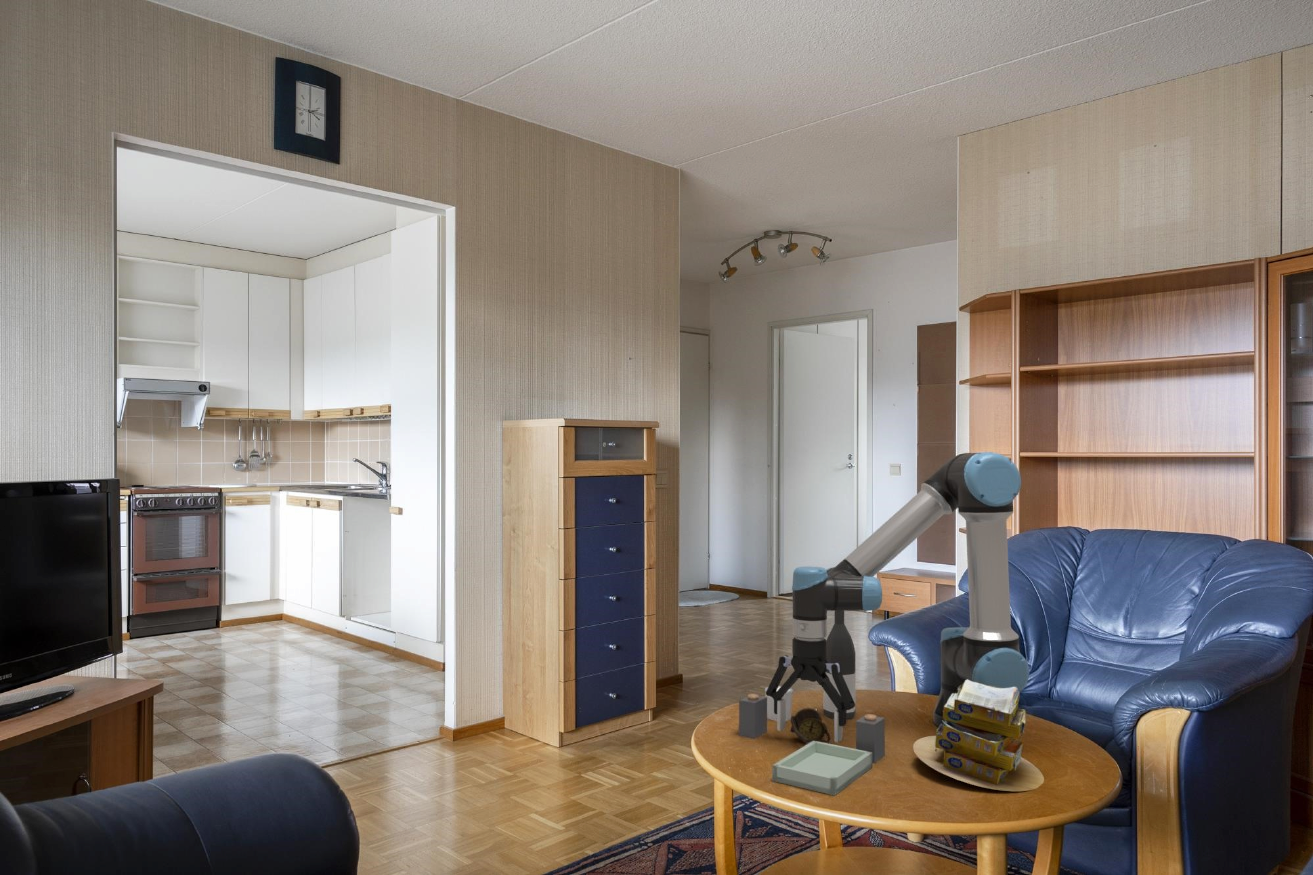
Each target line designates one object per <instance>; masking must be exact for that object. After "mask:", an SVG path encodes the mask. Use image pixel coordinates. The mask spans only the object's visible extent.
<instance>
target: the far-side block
mask: <svg viewBox="0 0 1313 875" xmlns="http://www.w3.org/2000/svg"><path fill="white" fill-rule="evenodd" d="M767 732H768V718H767V697H766V696H762V695H759V694H757V693H749V694H747V696H745V697H743V698H741V699H739V701H738V736H739V737H745V738H748V739H757V738H759V737H760V736H763V735H764V734H766V733H767ZM762 734H763V735H762Z"/></svg>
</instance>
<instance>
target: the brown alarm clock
mask: <svg viewBox="0 0 1313 875" xmlns="http://www.w3.org/2000/svg"><path fill="white" fill-rule="evenodd" d="M790 723H791V727H790V730H789V731H790V732H791V733H794V734H795V735H796V737H797V738H798V739H799V741H801V742H803V743H804V744H805V745H807V744H809V743H810V742H812V741H818V742H821V740H822V739H823V738H824V736H825V735H826V739H827V740H826V741H822V742H823V743H828V744H831V743H830V742H831V740H832V739H831V735H830V732H829V730H828V727H827V725H826V723H825V722H823V718H822V716H821V714H820V713H819V712H818V711H817V710H816V709H813V708H811V707H806V708H802V709H800V710H798V711H797V712H796V713H795V715H792V716H791V718H790Z"/></svg>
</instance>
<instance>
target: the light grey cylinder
mask: <svg viewBox="0 0 1313 875" xmlns="http://www.w3.org/2000/svg"><path fill="white" fill-rule="evenodd" d="M781 686H782V685H779V686H778V688H777V690H776V691H778V690H779V689H780V688H781ZM768 687H769V686H766V687H765V688H764V692H765V697H767V720H770V721H775V722H777V714H775V713H774V699H773V698H772V697H770V696H767V695H766V691H767V689H768ZM793 695H794V689H793V688H792V687H791V688H790V689H789V690H788V691H787V692H786V693H785V695H784V696H783V697H782V699H786V722H787V721H791V717H792V709H793V708H792V705H793V697H794V696H793Z"/></svg>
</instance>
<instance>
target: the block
mask: <svg viewBox="0 0 1313 875" xmlns="http://www.w3.org/2000/svg"><path fill="white" fill-rule="evenodd" d="M885 720H886V718H885V717H882V716H881V717H880V716H877V715H876V714H873V713H872V714H871V713H867V714H864V716H862V717H860V718H859V719H858V720H855V749H858V750H863V751H868V752H872V764H874V765H875V764H876V763H877V762H879V761H880V760H881V759H883V758H884V757H885V756H886V754H885V753H886V750H885V749H886V746H885V745H886V744H885V743H886V737H885V734H886V731H885V730H886V726H885V725H886V723H885V722H886V721H885Z"/></svg>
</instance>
